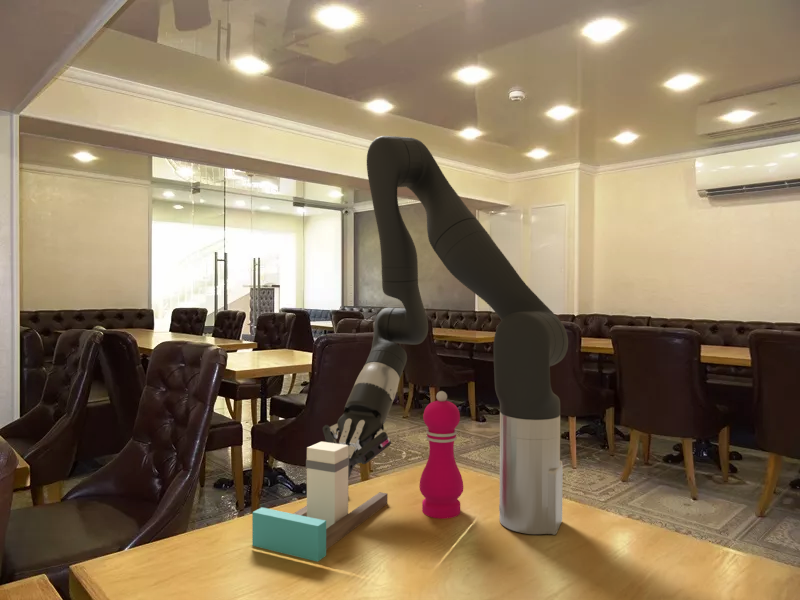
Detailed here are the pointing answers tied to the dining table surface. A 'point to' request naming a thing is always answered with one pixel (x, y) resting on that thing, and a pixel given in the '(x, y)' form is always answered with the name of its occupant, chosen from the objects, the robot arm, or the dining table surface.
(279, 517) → the teal rectangular block
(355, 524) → the guide rails
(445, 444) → the pepper mill
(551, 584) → the dining table surface
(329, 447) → the sleeve
